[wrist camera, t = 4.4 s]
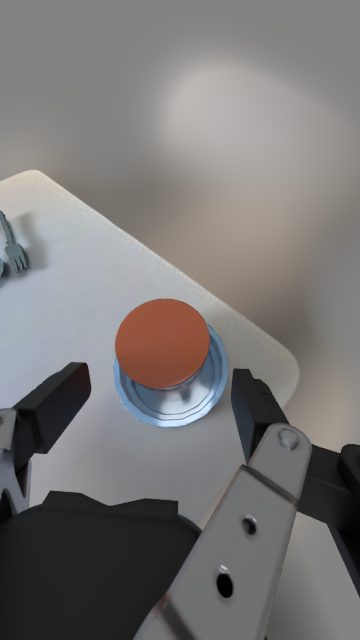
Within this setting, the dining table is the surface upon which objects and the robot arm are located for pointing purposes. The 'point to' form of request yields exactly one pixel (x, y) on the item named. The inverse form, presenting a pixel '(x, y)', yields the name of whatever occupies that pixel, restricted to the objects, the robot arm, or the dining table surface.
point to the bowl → (183, 411)
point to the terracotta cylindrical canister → (164, 348)
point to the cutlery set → (12, 248)
